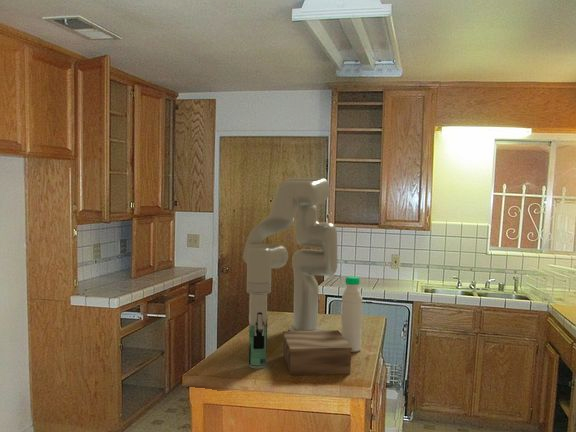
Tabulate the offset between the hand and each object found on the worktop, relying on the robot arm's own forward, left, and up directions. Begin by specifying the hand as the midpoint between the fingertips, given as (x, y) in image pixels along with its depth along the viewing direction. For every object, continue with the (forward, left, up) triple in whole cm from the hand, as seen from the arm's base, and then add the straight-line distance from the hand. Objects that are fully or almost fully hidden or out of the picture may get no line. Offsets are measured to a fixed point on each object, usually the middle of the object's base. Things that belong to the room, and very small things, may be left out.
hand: (258, 344), depth 155 cm
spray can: (0, 0, -7) cm, 7 cm away
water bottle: (-14, +33, -7) cm, 36 cm away
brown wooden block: (0, +18, -6) cm, 19 cm away
